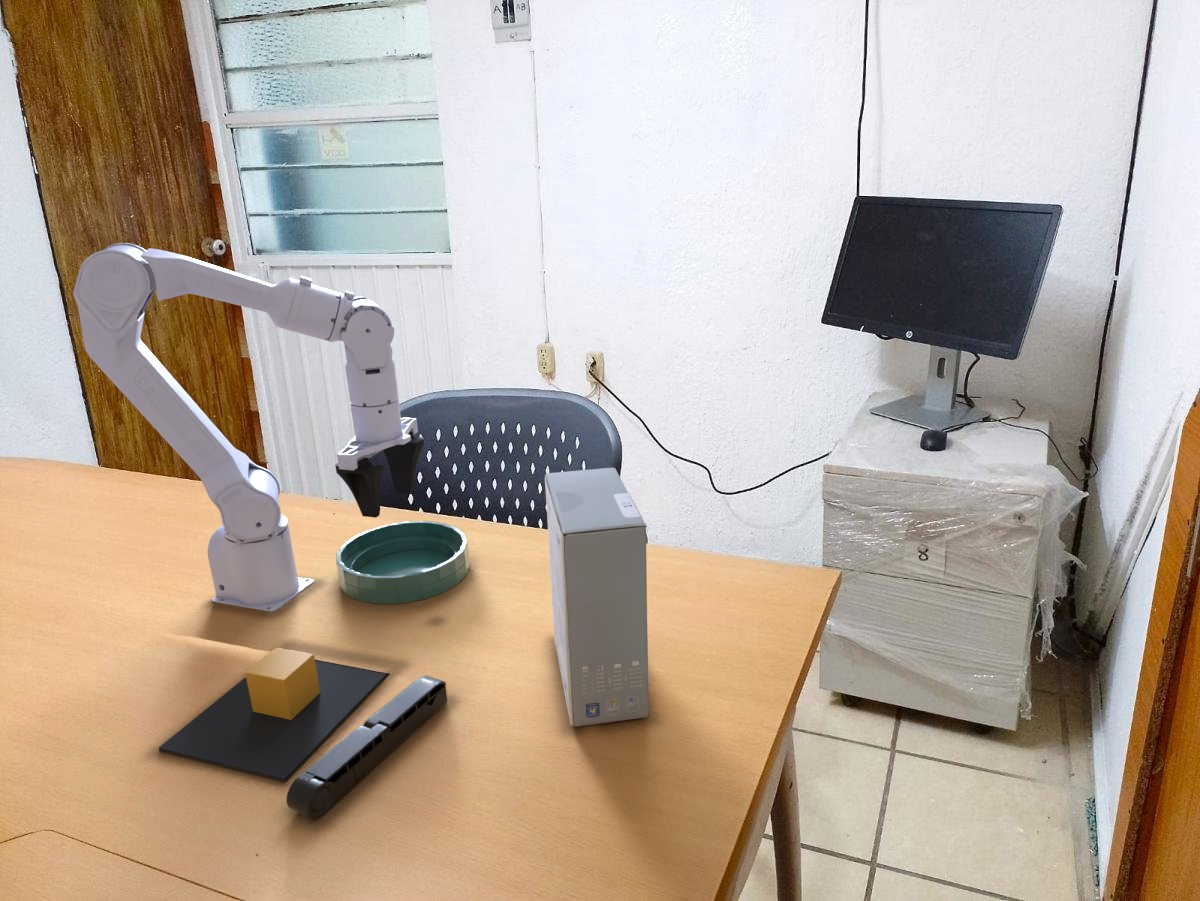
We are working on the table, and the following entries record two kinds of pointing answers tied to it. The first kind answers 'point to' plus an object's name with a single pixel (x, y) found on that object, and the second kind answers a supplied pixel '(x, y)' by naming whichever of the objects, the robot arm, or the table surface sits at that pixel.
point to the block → (283, 683)
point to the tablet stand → (365, 748)
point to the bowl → (402, 562)
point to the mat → (273, 725)
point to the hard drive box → (598, 595)
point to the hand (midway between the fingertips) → (388, 503)
